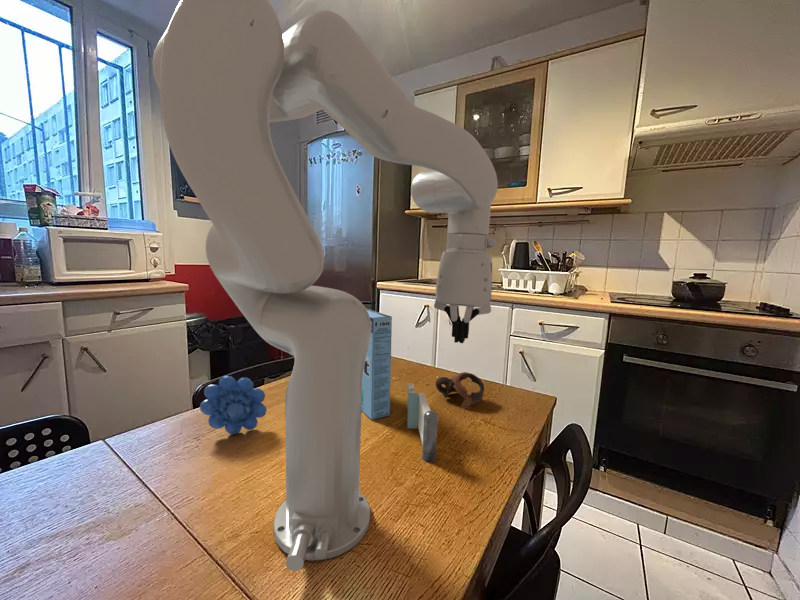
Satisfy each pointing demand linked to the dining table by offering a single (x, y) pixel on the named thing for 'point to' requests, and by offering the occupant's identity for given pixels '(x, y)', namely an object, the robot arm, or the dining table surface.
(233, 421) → the blue flower
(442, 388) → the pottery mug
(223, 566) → the dining table surface
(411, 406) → the block
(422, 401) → the gate
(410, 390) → the fence panel
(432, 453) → the hinge post
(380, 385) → the gum box
